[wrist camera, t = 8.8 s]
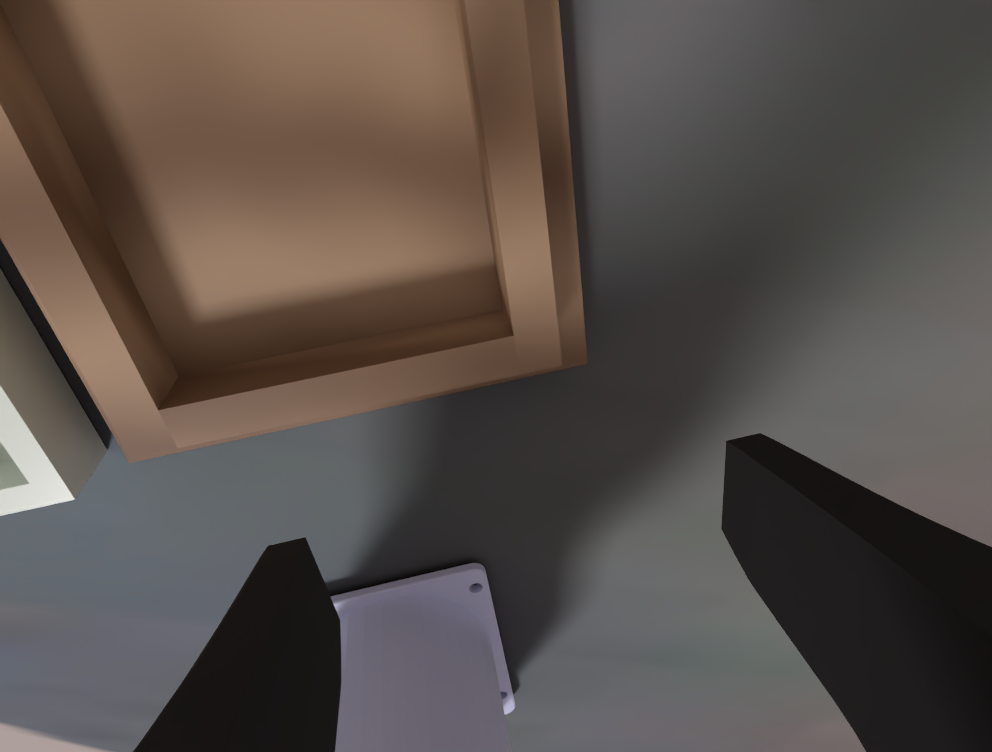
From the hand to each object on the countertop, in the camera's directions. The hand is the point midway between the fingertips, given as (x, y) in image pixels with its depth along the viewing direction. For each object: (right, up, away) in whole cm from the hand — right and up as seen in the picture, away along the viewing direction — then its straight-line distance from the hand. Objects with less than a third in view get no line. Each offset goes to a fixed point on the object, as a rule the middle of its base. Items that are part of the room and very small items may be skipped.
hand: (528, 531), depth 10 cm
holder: (-6, +8, +5) cm, 11 cm away
